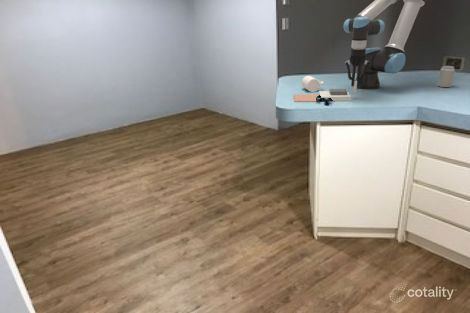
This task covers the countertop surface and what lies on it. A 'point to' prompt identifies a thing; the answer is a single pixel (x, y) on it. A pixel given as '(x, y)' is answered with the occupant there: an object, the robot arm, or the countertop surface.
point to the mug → (311, 83)
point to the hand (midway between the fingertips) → (354, 92)
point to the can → (446, 76)
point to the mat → (305, 98)
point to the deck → (335, 96)
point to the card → (338, 91)
